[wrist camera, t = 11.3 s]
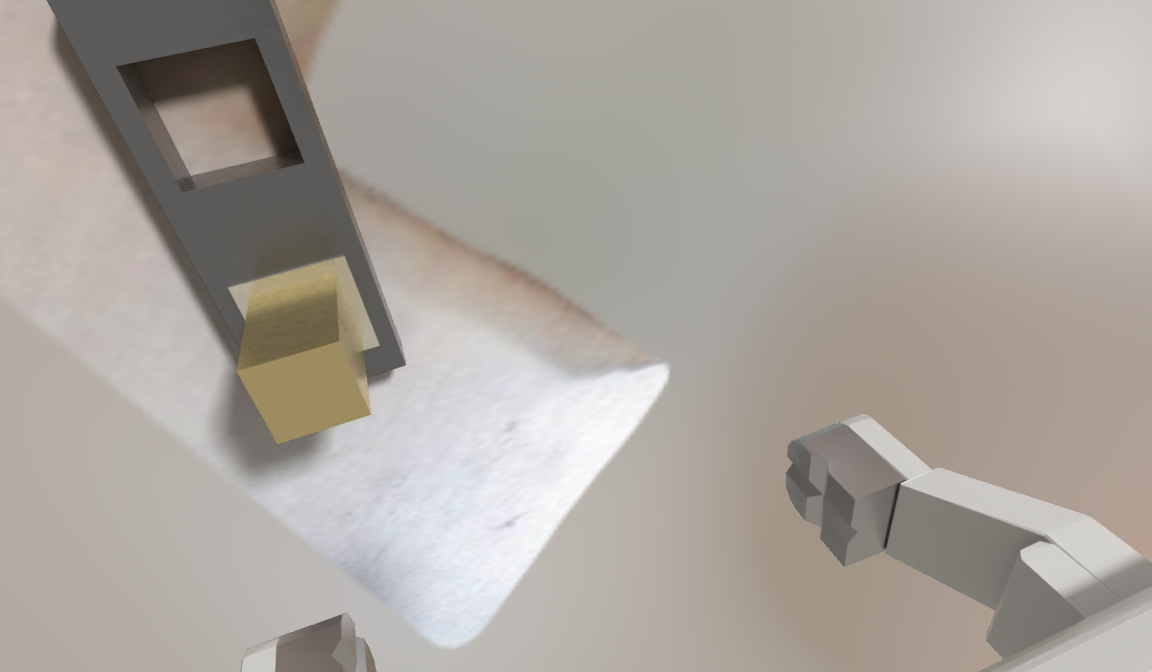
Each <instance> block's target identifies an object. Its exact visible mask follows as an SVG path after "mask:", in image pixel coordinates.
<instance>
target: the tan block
mask: <svg viewBox="0 0 1152 672" xmlns="http://www.w3.org/2000/svg"><path fill="white" fill-rule="evenodd" d="M236 372H237V374H238V375H239V377H240V379H241V381H242V382H243V384H244V386H245V388H246V390H247V391H248V393H249V395H250V397H251V398H252V400H253V402H254V404H255V405H256V407H257V409H258V411H259V413H260V414H261V416H262V418H263V420H264V421H265V423H266V425H267V427H268V428H269V430H270V432H271V434H272V435H273V437H274V439H275V441H276V443H277V444H281V443H284V442H287V441H290V440H293V439H296V438H299V437H302V436H306V435H309V434H312V433H315V432H318V431H321V430H324V429H327V428H331V427H334V426H337V425H340V424H343V423H346V422H349V421H352V420H356V419H359V418H362V417H365V416H368V415H371V409H370V400H369V392H368V383H367V375H366V366H365V358H364V349H363V341H362V339H361V336H360V334H359V331H358V329H357V327H356V324H355V322H354V319H353V317H352V314H351V312H350V309H349V307H348V304H347V302H346V300H345V297H344V295H343V292H342V290H341V287H340V285H339V282H338V280H337V277H336V275H333V276H329V277H326V278H322V279H318V280H315V281H311V282H307V283H304V284H300V285H296V286H293V287H289V288H285V289H282V290H278V291H274V292H271V293H267V294H263V295H260V296H256V297H253V298H249V303H248V309H247V314H246V320H245V326H244V331H243V337H242V342H241V348H240V354H239V359H238V365H237V370H236Z"/></svg>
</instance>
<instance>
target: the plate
mask: <svg viewBox="0 0 1152 672" xmlns="http://www.w3.org/2000/svg"><path fill="white" fill-rule="evenodd" d="M47 2H48V4H49V6H50V7H51V9H52V11H53V13H54V15H55V16H56V18H57V20H58V22H59V24H60V25H61V27H62V29H63V31H64V33H65V34H66V36H67V38H68V40H69V42H70V43H71V45H72V47H73V49H74V51H75V52H76V54H77V56H78V58H79V60H80V61H81V63H82V65H83V67H84V69H85V70H86V72H87V74H88V76H89V78H90V79H91V81H92V83H93V85H94V87H95V89H96V90H97V92H98V94H99V96H100V98H101V99H102V101H103V103H104V105H105V107H106V108H107V110H108V112H109V114H110V116H111V117H112V119H113V121H114V123H115V125H116V126H117V128H118V130H119V132H120V134H121V135H122V137H123V139H124V141H125V143H126V144H127V146H128V148H129V150H130V152H131V153H132V155H133V157H134V159H135V161H136V162H137V164H138V166H139V168H140V170H141V171H142V173H143V175H144V177H145V179H146V180H147V182H148V184H149V186H150V188H151V190H152V191H153V193H154V195H155V197H156V199H157V200H158V202H159V204H160V206H161V208H162V209H163V211H164V213H165V215H166V217H167V218H168V220H169V222H170V224H171V226H172V227H173V229H174V231H175V233H176V235H177V236H178V238H179V240H180V242H181V244H182V245H183V247H184V249H185V251H186V253H187V254H188V256H189V258H190V260H191V262H192V263H193V265H194V267H195V269H196V271H197V272H198V274H199V276H200V278H201V280H202V282H203V283H204V285H205V287H206V289H207V291H208V292H209V294H210V296H211V298H212V300H213V301H214V303H215V305H216V307H217V309H218V310H219V312H220V314H221V316H222V318H223V319H224V321H225V323H226V325H227V327H228V328H229V330H230V332H231V334H232V336H233V337H234V339H235V341H236V343H237V345H238V346H239V348H241V342H242V337H243V331H244V326H245V320H246V314H247V309H248V303H249V298H253V297H256V296H260V295H263V294H267V293H271V292H274V291H278V290H282V289H285V288H289V287H293V286H296V285H300V284H304V283H307V282H311V281H315V280H318V279H322V278H326V277H329V276H333V275H336V277H337V280H338V282H339V285H340V287H341V290H342V292H343V295H344V297H345V300H346V302H347V304H348V307H349V309H350V312H351V314H352V317H353V319H354V322H355V324H356V327H357V329H358V331H359V334H360V336H361V339H362V341H363V349H364V358H365V366H366V375H367V377H370V376H373V375H376V374H379V373H383V372H386V371H389V370H392V369H395V368H399V367H402V366H405V365H406V362H405V358H404V353H403V348H402V344H401V341H400V338H399V336H398V333H397V330H396V327H395V325H394V322H393V319H392V317H391V314H390V311H389V309H388V306H387V303H386V300H385V298H384V295H383V292H382V290H381V287H380V284H379V282H378V279H377V276H376V273H375V271H374V268H373V265H372V263H371V260H370V257H369V255H368V252H367V249H366V246H365V244H364V241H363V238H362V236H361V233H360V230H359V228H358V225H357V222H356V219H355V217H354V214H353V211H352V209H351V206H350V203H349V201H348V198H347V195H346V192H345V190H344V187H343V184H342V182H341V179H340V176H339V174H338V171H337V168H336V165H335V163H334V160H333V157H332V155H331V152H330V149H329V146H328V144H327V141H326V138H325V136H324V133H323V130H322V128H321V125H320V122H319V119H318V117H317V114H316V111H315V109H314V106H313V103H312V101H311V98H310V95H309V92H308V90H307V87H306V84H305V82H304V79H303V76H302V74H301V71H300V68H299V65H298V63H297V60H296V57H295V55H294V52H293V49H292V47H291V44H290V41H289V38H288V36H287V33H286V30H285V28H284V25H283V22H282V20H281V17H280V14H279V11H278V9H277V6H276V3H275V1H274V0H47ZM253 38H255V39H256V42H257V44H258V47H259V49H260V52H261V54H262V57H263V60H264V62H265V65H266V67H267V70H268V72H269V75H270V77H271V80H272V82H273V85H274V87H275V90H276V92H277V95H278V97H279V100H280V102H281V105H282V107H283V110H284V112H285V115H286V117H287V120H288V122H289V125H290V127H291V130H292V132H293V135H294V137H295V140H296V142H297V145H298V147H299V151H295V152H291V153H287V154H283V155H278V156H274V157H270V158H266V159H262V160H257V161H253V162H249V163H245V164H241V165H236V166H232V167H228V168H224V169H220V170H215V171H211V172H207V173H203V174H199V175H194V176H190V174H189V172H188V170H187V168H186V166H185V164H184V162H183V160H182V159H181V157H180V155H179V153H178V151H177V149H176V147H175V145H174V143H173V141H172V139H171V137H170V135H169V133H168V131H167V129H166V127H165V125H164V123H163V121H162V119H161V117H160V115H159V114H158V112H157V110H156V108H155V106H154V104H153V102H152V100H151V98H150V96H149V94H148V92H147V90H146V88H145V86H144V84H143V82H142V80H141V78H140V76H139V74H138V72H137V70H136V68H135V67H134V65H133V63H134V62H139V61H144V60H149V59H154V58H159V57H164V56H169V55H174V54H179V53H184V52H189V51H194V50H199V49H204V48H209V47H214V46H219V45H224V44H229V43H234V42H238V41H243V40H248V39H253Z"/></svg>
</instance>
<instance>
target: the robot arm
mask: <svg viewBox="0 0 1152 672" xmlns="http://www.w3.org/2000/svg"><path fill="white" fill-rule="evenodd" d="M787 457H788V458H789V459H790V460H791V461H792V462H793V464H792V465H791V466H790V468H789V469H788V471H787V472H786V488H787V490H788V494H789V496H790V500H791V501H792V503H793V504H794V506H795V508H796V510H797V511H798V512H799V513H800V515H801V516H802V517H803V519H804V520H805V521H808V522H810V523H813V524H815V525H818V526H820V538H821V540H822V541H823V542H824V544H825V545H826V546H827V547H828V548H829V549H830V551H831V552H832V553H833V554H834V555H835V556H836V558H837V559H838V560H839V561H840V563H841V564H842V565H843V566H844V567H846V566H848V565H851V564H853V563H856V562H858V561H861V560H863V559H866V558H868V557H871V556H873V555H876V554H878V553H881V552H883V551H886V552H885V553H886V554H888V555H890V556H892V557H894V558H895V559H897V560H899V561H901V562H903V563H905V564H907V565H909V566H911V567H913V568H914V569H916V570H918V571H920V572H922V573H924V574H926V575H928V576H930V577H932V578H934V579H936V580H938V581H940V582H941V583H944V584H945V585H947V586H949V587H951V588H953V589H955V590H957V591H959V592H961V593H963V594H965V595H967V596H968V597H970V598H972V599H974V600H976V601H978V602H980V603H982V604H984V605H986V606H988V607H990V608H992V609H993V610H995V613H994V615H993V618H992V620H991V623H990V625H989V627H988V630H987V638H986V641H987V642H988V643H989V644H990V645H991V646H992V647H993V648H994V649H995V651H996V652H998V654H999V655H1000V656H1001V657H1002V658H1003V660H1001V661H999V662H997V663H995V664H993V665H990V666H989V667H986V668H985V669H982V670H980V671H979V672H1152V563H1151V562H1150V561H1148V560H1147V559H1146V558H1144V557H1143V556H1142V555H1140V554H1139V553H1138V552H1136V551H1135V550H1134V549H1132V548H1131V547H1130V546H1128V545H1127V544H1126V543H1124V542H1123V541H1122V540H1120V539H1119V538H1118V537H1116V536H1115V535H1114V534H1112V533H1111V532H1110V531H1109V530H1107V529H1106V528H1104V527H1103V526H1102V525H1101V524H1099V523H1098V522H1097V521H1095V520H1094V519H1092V518H1091V517H1090V516H1087V515H1084V514H1081V513H1077V512H1075V511H1071V510H1068V509H1065V508H1062V507H1059V506H1056V505H1053V504H1050V503H1047V502H1044V501H1041V500H1037V499H1035V498H1031V497H1028V496H1025V495H1022V494H1019V493H1016V492H1013V491H1010V490H1007V489H1004V488H1001V487H998V486H994V485H991V484H988V483H985V482H982V481H979V480H976V479H973V478H970V477H966V476H964V475H961V474H957V473H954V472H951V471H948V470H945V469H942V468H936V469H934V470H931V469H930V468H929V467H928V466H927V465H926V464H924V463H923V462H922V461H921V460H920V459H919V458H917V457H916V456H915V455H914V454H913V453H912V452H911V451H909V450H908V449H907V448H906V447H905V446H903V445H902V444H901V443H900V442H899V441H898V440H897V439H895V438H894V437H893V436H892V435H891V434H890V433H888V432H887V431H886V430H885V429H884V428H882V427H881V426H880V425H879V424H878V423H877V422H876V421H874V420H873V419H872V418H871V417H869V416H867V415H864V414H861V415H858V416H855V417H853V418H850V419H848V420H845V421H843V422H840V423H838V424H833V425H830V426H828V427H826V428H823V429H820V430H818V431H816V432H813V433H810V434H808V435H805V436H803V437H801V438H798V439H795V440H793V441H791V443H790V444H789V446H788V452H787ZM241 672H376V667H375V663H374V659H373V656H372V654H371V651H370V649H369V647H368V645H367V644H366V641H365V640H364V639H362V638H359V637H355V624H354V622H353V621H352V619H351V618H350V616H349V615H348V613H345V614H342V615H339V616H336V617H334V618H331V619H328V620H325V621H322V622H319V623H317V624H314V625H311V626H308V627H305V628H303V629H300V630H297V631H294V632H291V633H288V634H286V635H283V636H280V637H277V638H275V639H272V640H269V641H267V642H264V643H261V644H259V645H256V646H254V647H251V648H248V649H247V650H246V652H245V655H244V657H243V660H242V664H241Z"/></svg>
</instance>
